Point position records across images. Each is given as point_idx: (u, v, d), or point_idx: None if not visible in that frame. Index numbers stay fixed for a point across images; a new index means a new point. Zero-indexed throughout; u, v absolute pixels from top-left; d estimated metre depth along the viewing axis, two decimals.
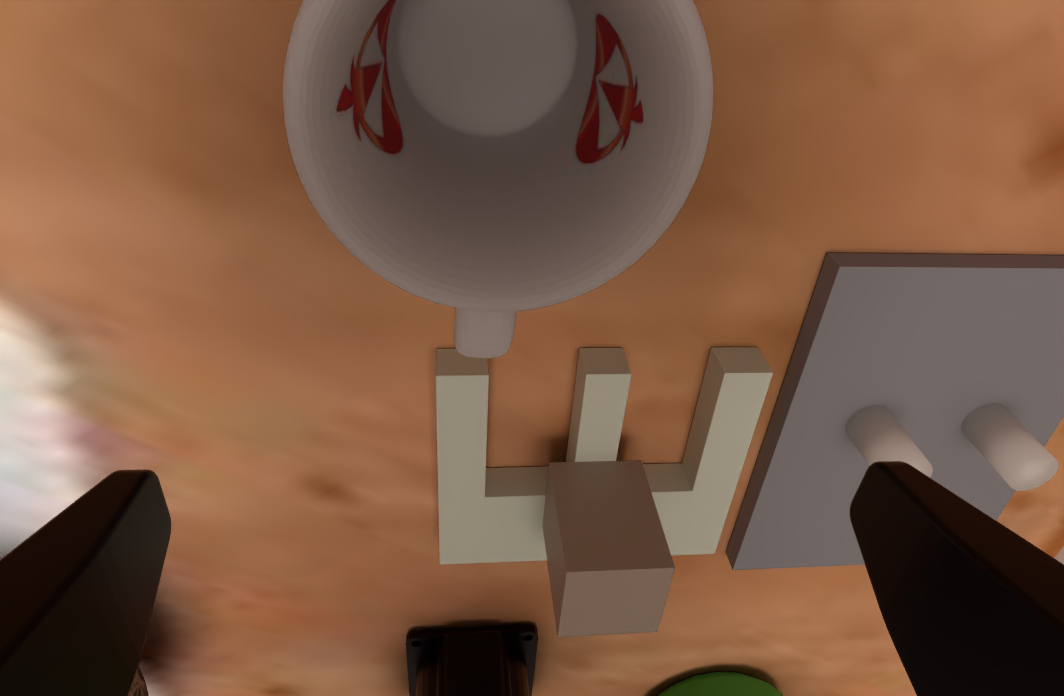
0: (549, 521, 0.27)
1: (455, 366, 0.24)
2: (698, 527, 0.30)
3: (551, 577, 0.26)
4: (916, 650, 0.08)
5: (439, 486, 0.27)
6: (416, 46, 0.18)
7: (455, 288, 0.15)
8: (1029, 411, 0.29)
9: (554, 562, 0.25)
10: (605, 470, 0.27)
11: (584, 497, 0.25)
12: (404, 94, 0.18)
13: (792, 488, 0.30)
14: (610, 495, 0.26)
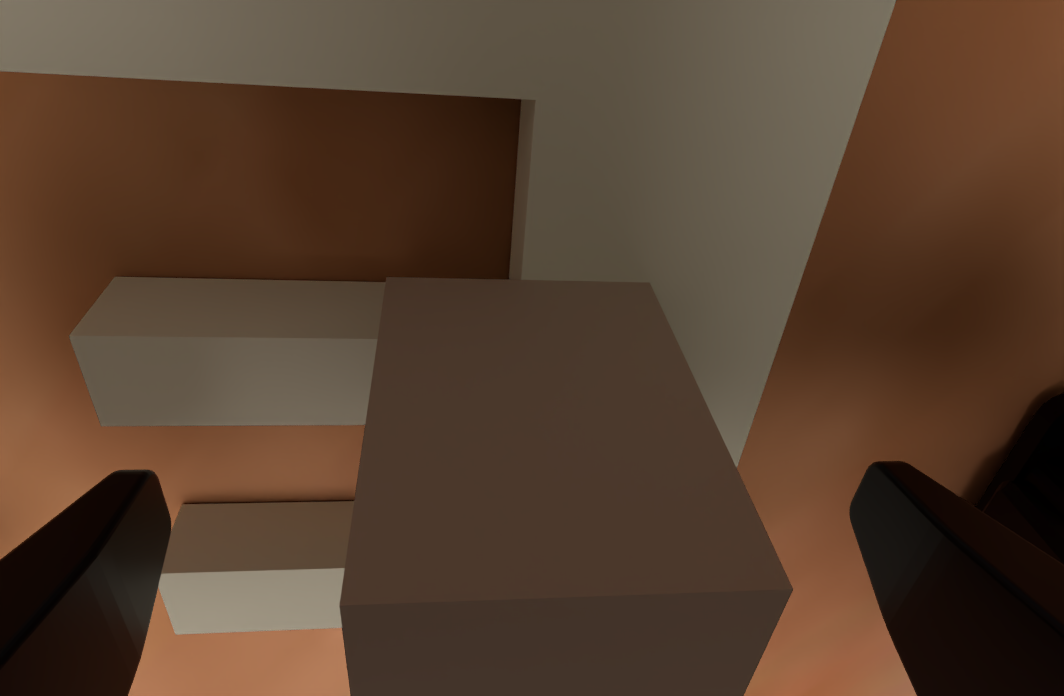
0: None
1: None
2: (729, 48, 0.08)
3: None
4: (916, 650, 0.08)
5: None
6: None
7: None
8: None
9: None
10: None
11: None
12: None
13: None
14: None
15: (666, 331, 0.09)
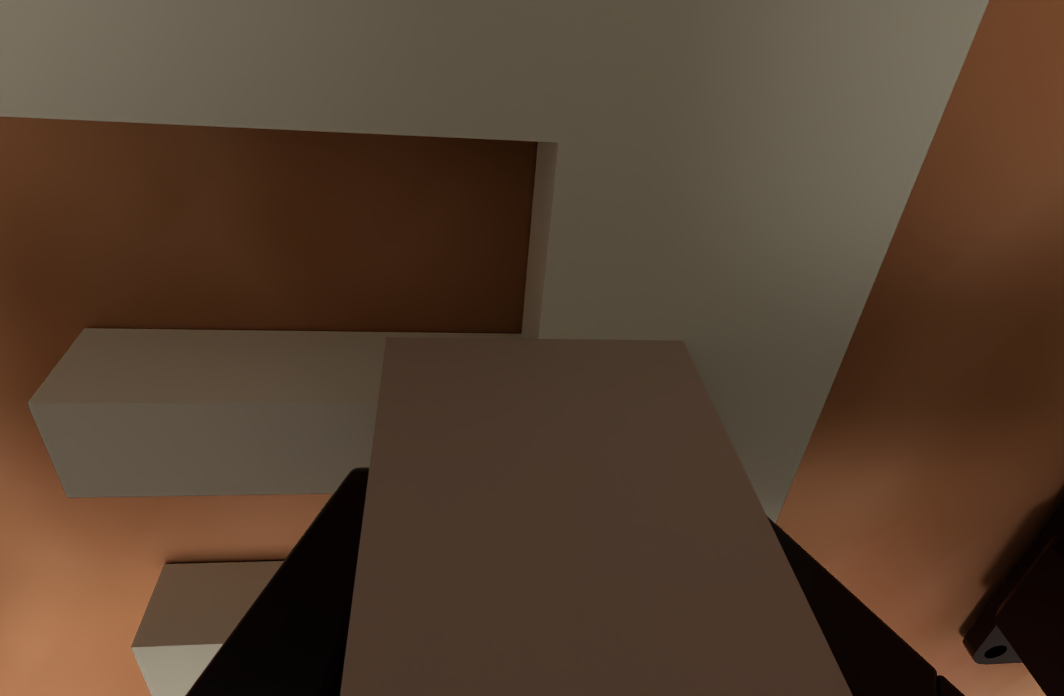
0: None
1: None
2: (784, 83, 0.07)
3: None
4: None
5: None
6: None
7: None
8: None
9: None
10: None
11: None
12: None
13: None
14: None
15: (706, 404, 0.08)
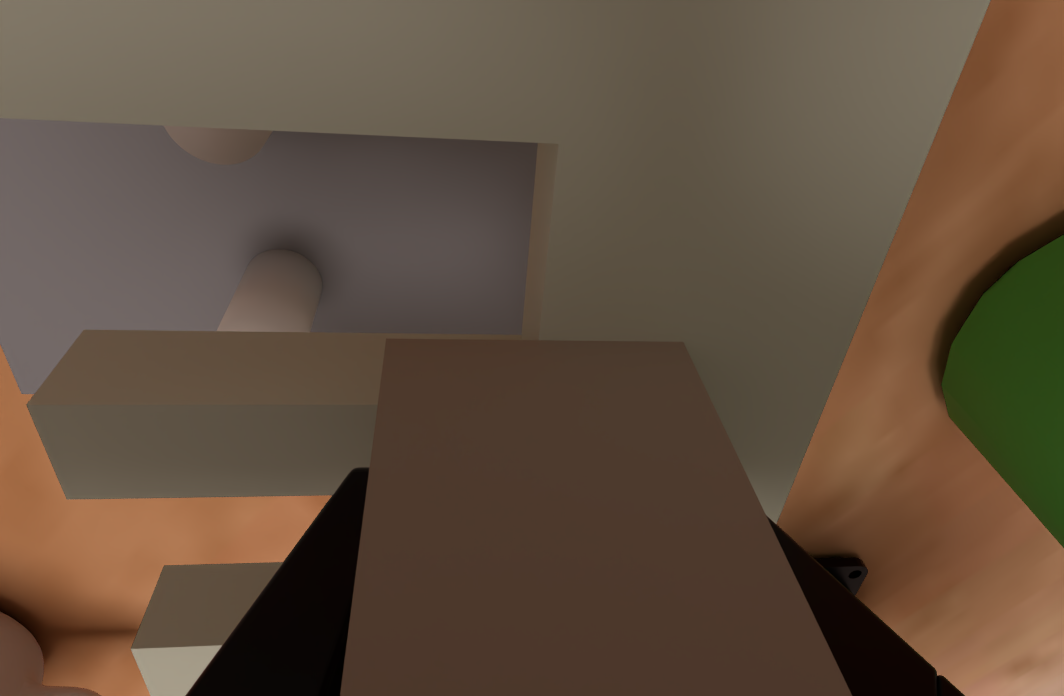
0: None
1: None
2: (784, 84, 0.07)
3: None
4: None
5: None
6: None
7: None
8: None
9: None
10: None
11: None
12: None
13: None
14: None
15: (706, 405, 0.08)
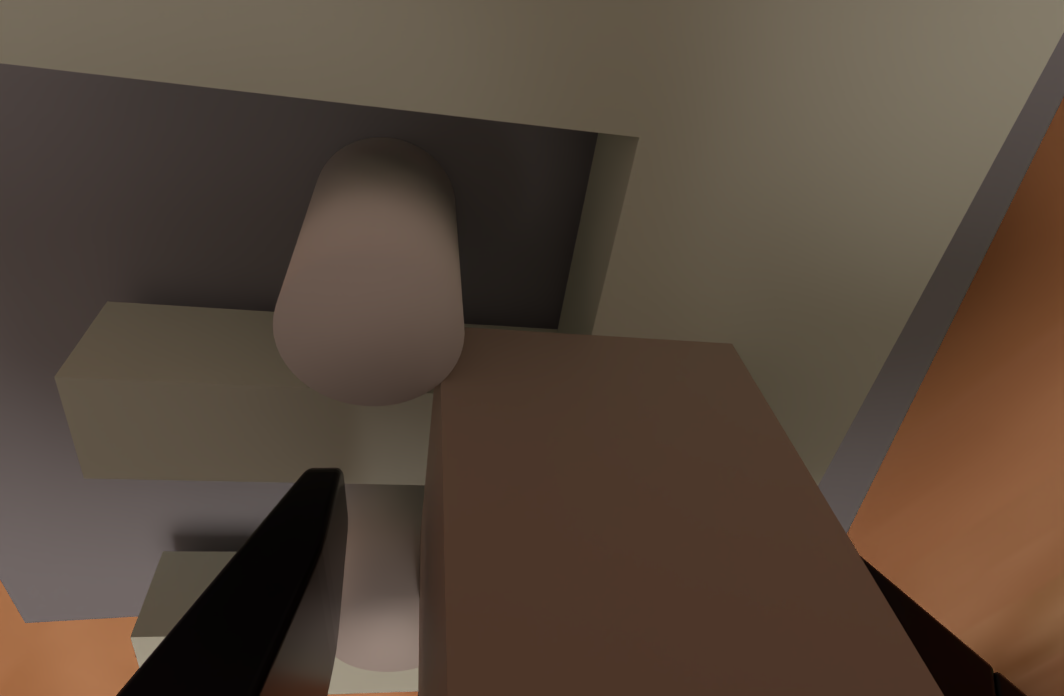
0: None
1: None
2: (864, 93, 0.07)
3: None
4: None
5: None
6: None
7: None
8: None
9: None
10: (430, 451, 0.08)
11: (424, 597, 0.08)
12: None
13: None
14: (430, 536, 0.08)
15: (763, 407, 0.08)
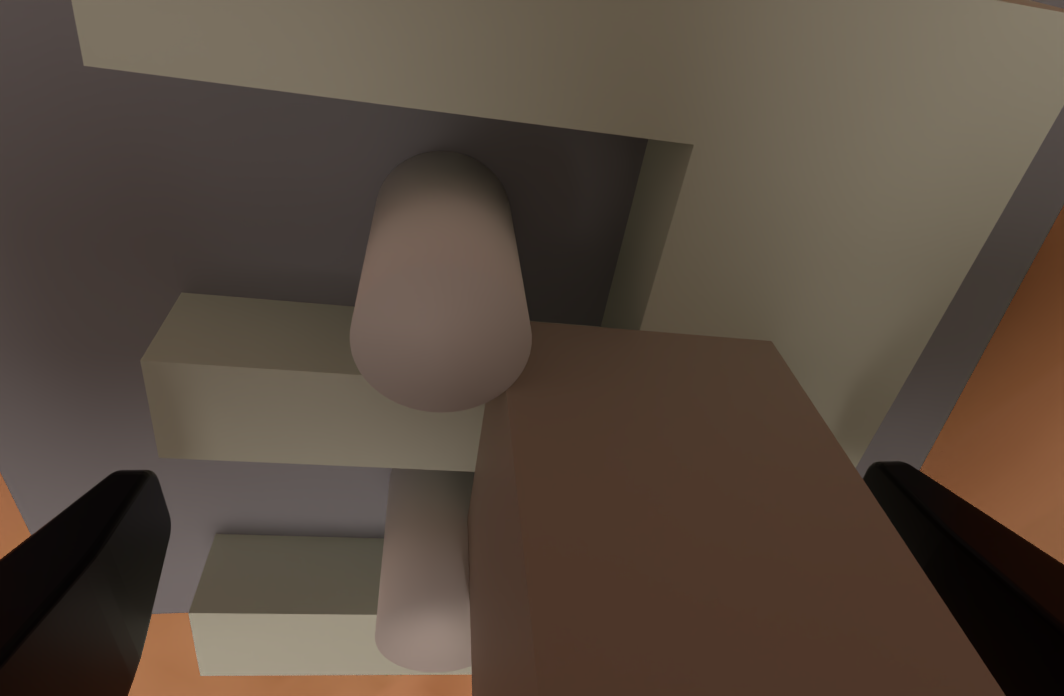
0: None
1: None
2: (905, 105, 0.08)
3: None
4: None
5: None
6: None
7: None
8: None
9: None
10: (485, 437, 0.09)
11: (479, 574, 0.09)
12: None
13: None
14: (489, 515, 0.08)
15: (804, 400, 0.08)
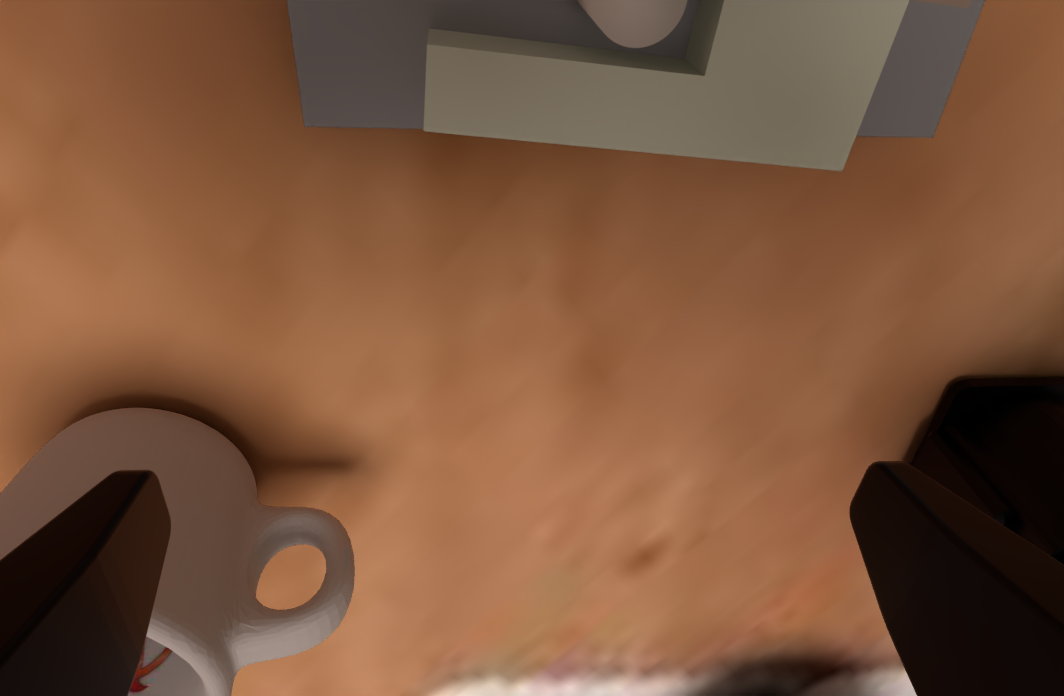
0: None
1: None
2: None
3: None
4: (916, 650, 0.08)
5: (657, 151, 0.16)
6: None
7: None
8: None
9: None
10: None
11: None
12: None
13: None
14: None
15: None
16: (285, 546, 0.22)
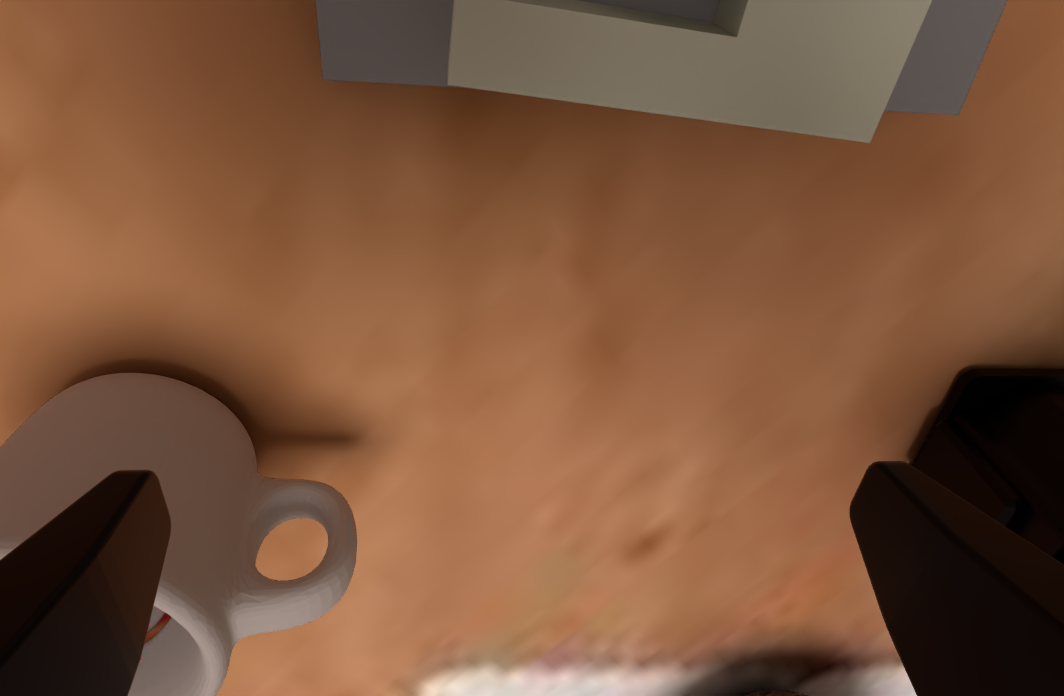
0: None
1: (450, 46, 0.15)
2: None
3: None
4: (916, 650, 0.08)
5: (684, 115, 0.16)
6: None
7: (203, 674, 0.18)
8: None
9: None
10: None
11: None
12: None
13: None
14: None
15: None
16: (285, 519, 0.21)
